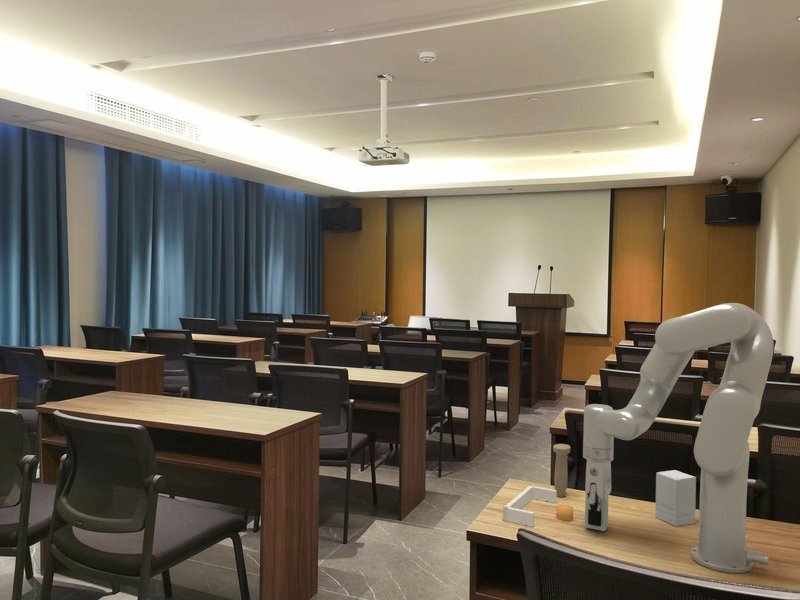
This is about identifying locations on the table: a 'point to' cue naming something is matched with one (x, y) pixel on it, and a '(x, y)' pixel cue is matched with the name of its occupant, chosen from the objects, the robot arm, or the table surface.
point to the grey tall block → (603, 515)
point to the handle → (561, 468)
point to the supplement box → (675, 497)
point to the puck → (564, 513)
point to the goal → (513, 508)
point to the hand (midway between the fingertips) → (596, 521)
